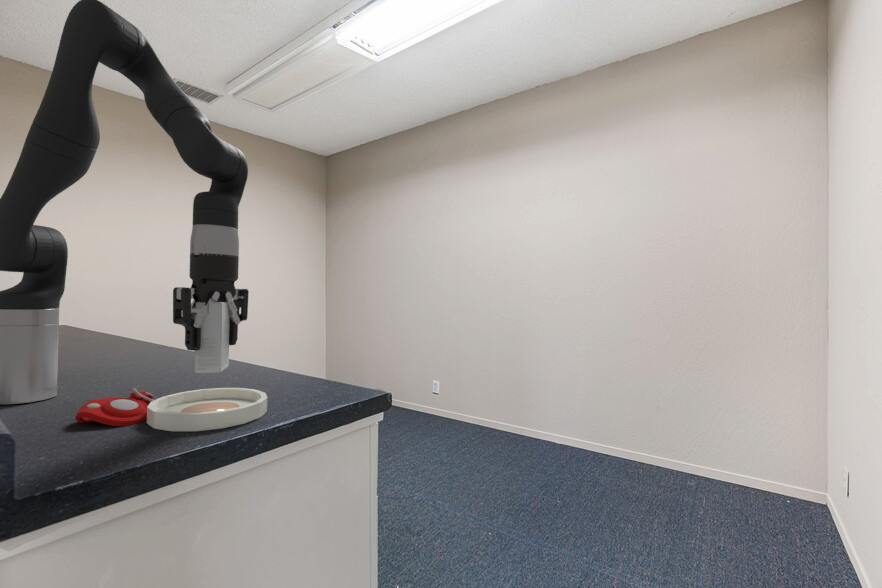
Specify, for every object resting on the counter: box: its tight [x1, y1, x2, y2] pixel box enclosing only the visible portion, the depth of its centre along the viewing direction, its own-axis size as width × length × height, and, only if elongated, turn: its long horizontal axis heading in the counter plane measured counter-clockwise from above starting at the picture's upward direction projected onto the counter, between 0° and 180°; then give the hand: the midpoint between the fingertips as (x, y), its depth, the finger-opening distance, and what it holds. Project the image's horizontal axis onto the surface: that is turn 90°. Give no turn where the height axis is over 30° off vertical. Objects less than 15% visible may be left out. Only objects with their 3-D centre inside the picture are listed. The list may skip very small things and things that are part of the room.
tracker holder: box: [74, 387, 155, 427], centre depth 70 cm, size 12×4×10 cm
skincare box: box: [193, 302, 230, 374], centre depth 73 cm, size 6×4×12 cm
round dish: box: [146, 387, 268, 432], centre depth 73 cm, size 18×18×3 cm
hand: (212, 347), depth 73 cm, fingers closed on skincare box, 7 cm apart
